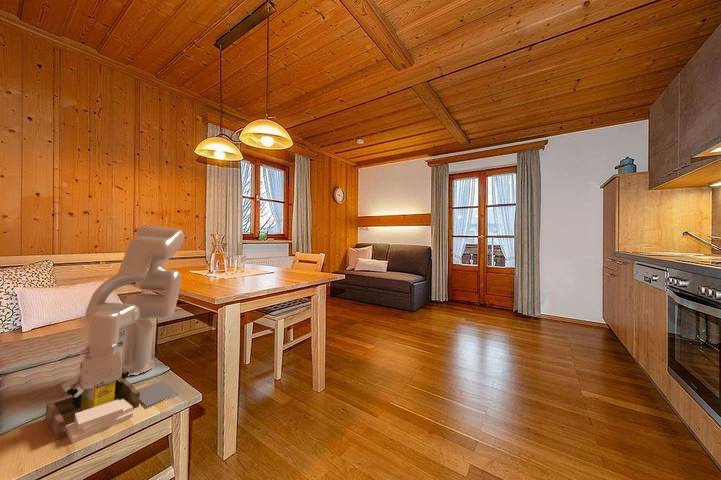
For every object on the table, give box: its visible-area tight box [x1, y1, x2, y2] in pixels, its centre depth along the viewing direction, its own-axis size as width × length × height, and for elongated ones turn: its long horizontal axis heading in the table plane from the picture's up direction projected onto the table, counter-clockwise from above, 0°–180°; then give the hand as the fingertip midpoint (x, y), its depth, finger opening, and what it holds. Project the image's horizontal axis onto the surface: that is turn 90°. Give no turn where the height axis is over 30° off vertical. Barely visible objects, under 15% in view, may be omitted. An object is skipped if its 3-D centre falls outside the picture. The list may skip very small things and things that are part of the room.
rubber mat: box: [136, 379, 179, 409], centre depth 102 cm, size 12×10×1 cm
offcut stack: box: [64, 398, 134, 444], centre depth 86 cm, size 8×14×4 cm, turn 149°
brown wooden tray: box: [45, 378, 140, 441], centre depth 90 cm, size 13×19×5 cm, turn 149°
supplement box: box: [80, 381, 116, 412], centre depth 91 cm, size 6×6×11 cm
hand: (97, 399), depth 91 cm, fingers open, 9 cm apart
